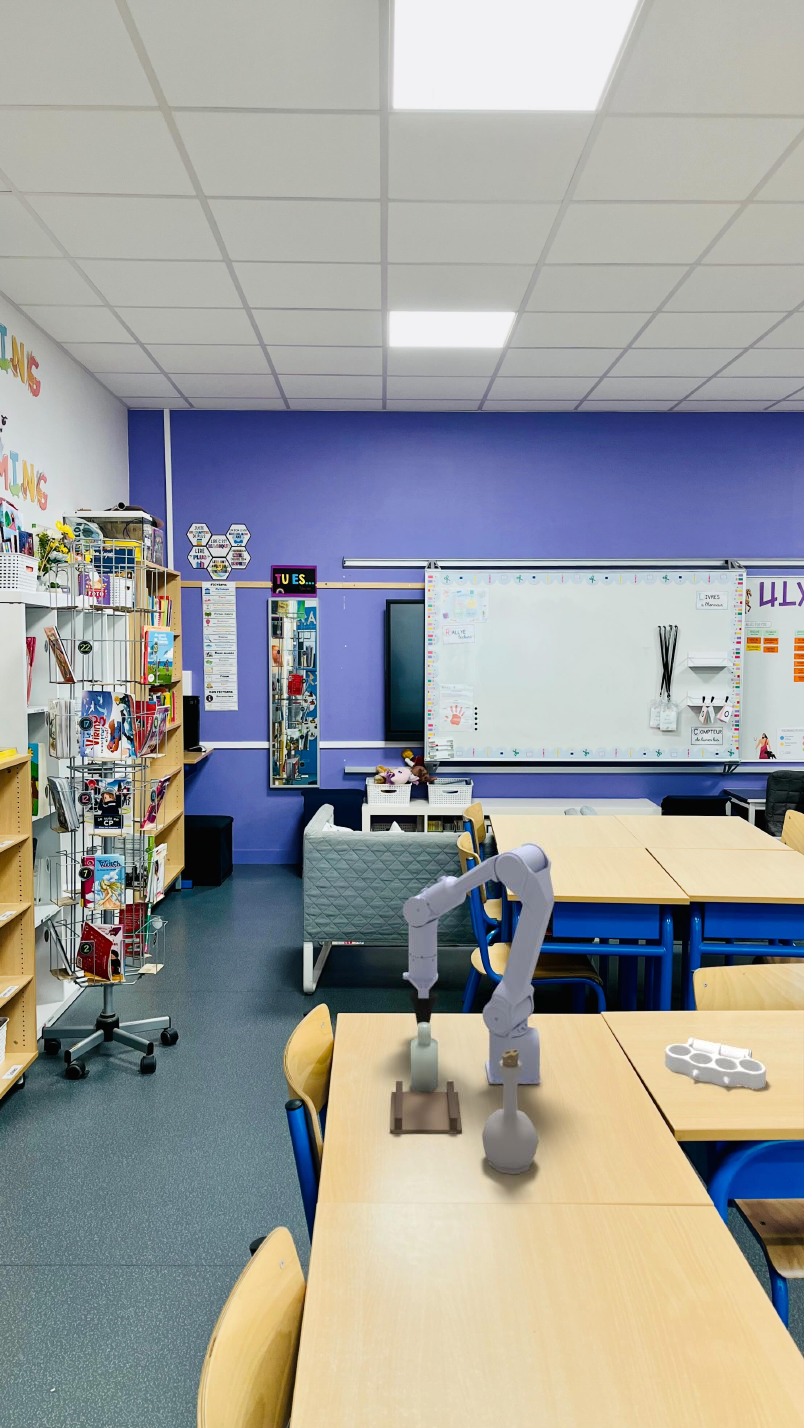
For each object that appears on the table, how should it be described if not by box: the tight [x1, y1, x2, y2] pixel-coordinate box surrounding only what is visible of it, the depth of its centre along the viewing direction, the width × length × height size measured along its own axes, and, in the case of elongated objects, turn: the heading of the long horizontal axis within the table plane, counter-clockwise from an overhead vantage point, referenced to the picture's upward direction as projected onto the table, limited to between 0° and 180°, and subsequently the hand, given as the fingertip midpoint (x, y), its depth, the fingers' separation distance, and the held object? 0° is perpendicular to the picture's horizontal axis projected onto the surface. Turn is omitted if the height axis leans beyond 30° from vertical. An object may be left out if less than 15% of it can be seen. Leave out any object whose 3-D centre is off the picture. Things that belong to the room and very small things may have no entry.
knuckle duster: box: [664, 1037, 767, 1090], centre depth 160 cm, size 3×18×15 cm
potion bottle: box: [481, 1049, 539, 1175], centre depth 131 cm, size 9×9×18 cm
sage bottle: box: [410, 1022, 439, 1092], centre depth 154 cm, size 5×5×12 cm
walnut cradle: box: [389, 1080, 463, 1134], centre depth 145 cm, size 12×12×3 cm
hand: (422, 1018), depth 169 cm, fingers open, 7 cm apart
